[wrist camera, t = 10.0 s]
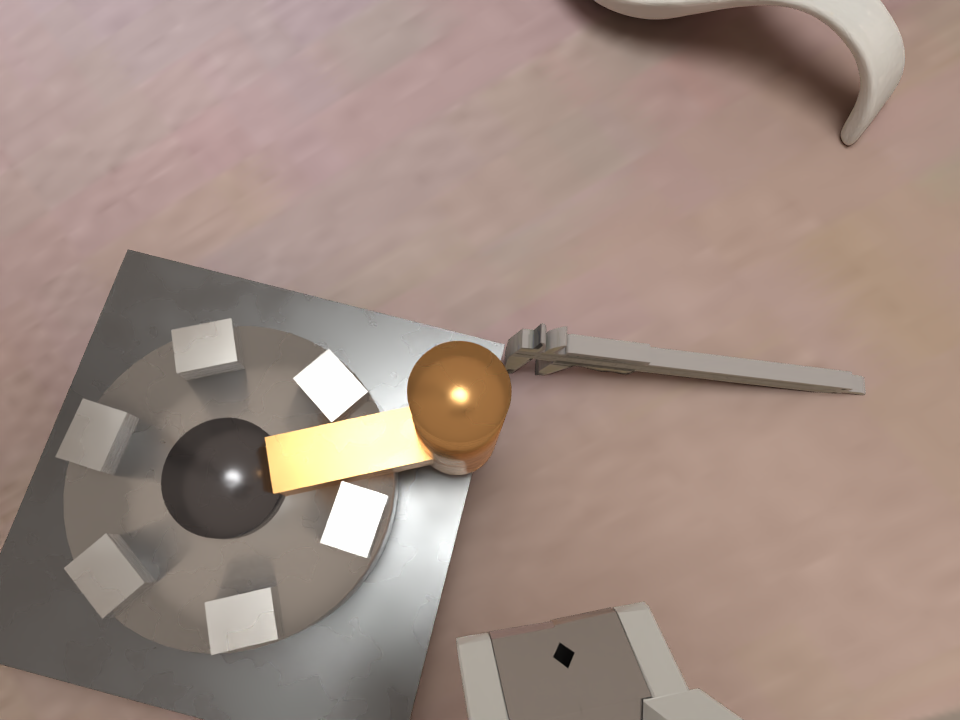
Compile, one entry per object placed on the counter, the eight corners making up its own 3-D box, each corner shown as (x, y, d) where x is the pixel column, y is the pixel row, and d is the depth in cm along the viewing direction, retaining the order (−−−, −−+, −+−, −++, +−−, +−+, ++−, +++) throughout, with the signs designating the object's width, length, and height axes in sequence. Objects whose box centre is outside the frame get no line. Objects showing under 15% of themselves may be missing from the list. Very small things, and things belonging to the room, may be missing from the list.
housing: (10, 644, 37) (-44, 653, 33) (157, 278, 42) (126, 248, 38) (402, 750, 36) (395, 772, 32) (499, 365, 41) (504, 343, 37)
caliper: (502, 375, 42) (511, 342, 36) (503, 356, 42) (512, 321, 36) (861, 396, 42) (930, 367, 36) (860, 378, 42) (928, 346, 36)
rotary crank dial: (110, 680, 32) (-48, 732, 22) (83, 376, 36) (-64, 299, 26) (527, 580, 34) (560, 585, 24) (461, 301, 38) (466, 200, 27)
